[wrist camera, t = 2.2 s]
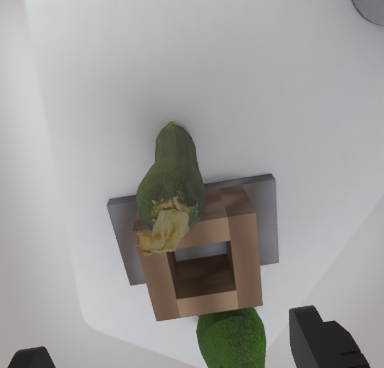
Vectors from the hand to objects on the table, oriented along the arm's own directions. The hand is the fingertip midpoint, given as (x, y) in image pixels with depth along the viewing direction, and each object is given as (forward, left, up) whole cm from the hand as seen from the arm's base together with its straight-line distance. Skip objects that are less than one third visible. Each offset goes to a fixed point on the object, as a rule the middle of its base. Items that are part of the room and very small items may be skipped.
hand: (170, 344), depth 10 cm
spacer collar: (-1, +11, -24) cm, 26 cm away
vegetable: (0, 0, -24) cm, 24 cm away
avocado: (-3, +23, -24) cm, 34 cm away
